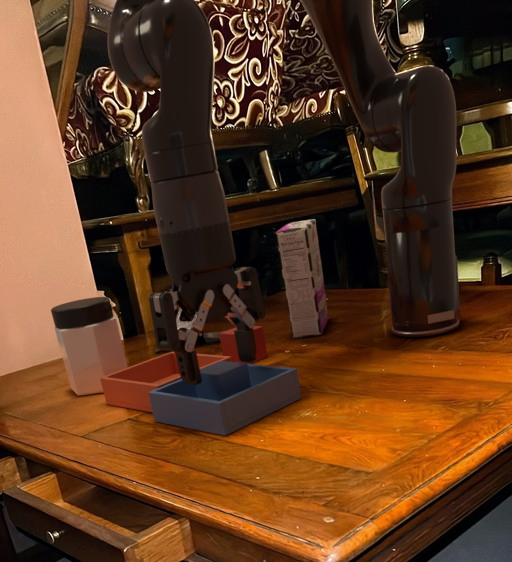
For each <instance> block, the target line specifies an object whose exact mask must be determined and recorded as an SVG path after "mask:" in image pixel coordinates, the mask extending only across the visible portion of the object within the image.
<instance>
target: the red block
mask: <svg viewBox="0 0 512 562" xmlns="http://www.w3.org/2000/svg"><path fill="white" fill-rule="evenodd" d="M235 330H237V328H236V327H235V326H234V327H233V328H230V329H228V330H223V331H224V332H222V331H221V332H222V333H219V336H220V341H221V342H220V346H221V352H222V356H229V357H231V358H232V362H238V363H247V364H254V363H256V362H258V361H260V360H263V359H265V358H268V351H267V344H266V339H265V332H264V326H263V325H255V327H254V328H253V330H254V336H255V342H256V348H257V353H256V360H255V361H253V362H241V361H240V360H239V356H238V351H237V345H236V340H235V334H234V331H235Z"/></svg>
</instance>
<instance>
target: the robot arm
mask: <svg viewBox="0 0 512 562" xmlns="http://www.w3.org/2000/svg"><path fill="white" fill-rule="evenodd" d="M299 1H300V3H301V5H302V7H303V8H304V10H305V12H306V14H307V15H308V18H309V19H310V22H311V23H312V25H313V28H314V29H315V31H316V33H317V35H318V37H319V39H320V41H321V42H322V44H323V46H324V48H325V51H326V52H327V54H328V56H329V58H330V59H331V62H332V63H333V65H334V68H335V70H336V72H337V74H338V77H339V79H340V82H341V84H342V86H343V88H344V90H345V93H346V95H347V98H348V100H349V102H350V105H351V107H352V109H353V112H354V114H355V116H356V119H357V121H358V123H359V126H360V127H361V130H362V132H363V133H364V135H365V137H366V139H367V140H368V141H369V143H370V144H371V145H372V146H373V147H375V149H377V150H379V151H381V152H383V153H391V154H392V153H400V156H401V157H400V166H399V169H398V172H397V173H396V174H395V176H394V177H393V178H392V179H391V180H390V181H389V182H387V183H386V184H385V185H383V187H382V188H381V191H380V203H381V214H382V225H383V237H384V247H385V257H386V270H387V280H388V291H389V293H388V294H389V304H390V315H391V333H392V334H393V336H397V337H401V338H426V337H432V336H438V335H443V334H447V333H449V332H452V331H454V330H457V329H458V328H459V327H460V322H461V306H460V305H461V304H460V290H459V289H460V288H459V287H460V284H459V270H458V267H459V266H458V256H457V255H456V247H455V232H454V231H455V229H454V214H453V183H454V180H455V177H456V171H457V104H456V97H455V92H454V88H453V85H452V83H451V81H450V78H449V76H448V75H447V73H446V72H444V70H443V69H441V68H440V67H438V66H435V65H422V66H417V67H415V68H411V69H408V70H404V71H401V72H398V73H397V72H396V71H395V69H394V68H393V66H392V65H391V62H390V61H389V59H388V57H387V56H386V52H385V51H384V49H383V47H382V44H381V42H380V39H379V37H378V34H377V30H376V25H375V20H374V0H299ZM114 3H115V4H114V6H113V9H112V12H111V15H110V18H109V21H108V22H109V23H108V28H107V42H106V43H107V53H108V59H109V62H110V65H111V68H112V70H113V73H114V74H115V75H116V77H117V79H118V80H119V81H120V82H121V83H122V84H123V85H124V86H125V87H127V88H128V89H130V90H132V91H134V92H137V93H150V92H153V91H157V90H159V91H160V92H159V106H158V109H157V110H156V113H154V115H152V116H151V117H150V118H148V119H147V120H146V122H144V123H143V126H142V128H141V141H142V147H143V153H144V155H145V162H146V167H147V171H148V175H149V182H150V183H151V184H150V187H151V194H152V195H151V196H152V206H153V212H154V217H155V223H156V226H157V232H158V236H159V242H160V245H161V250H162V255H163V260H164V265H165V269H166V272H167V274H168V275H169V277H170V278H171V281H172V286H171V291H166V292H165V291H164V292H151V293H150V294H149V296H148V302H149V310H150V315H151V319H152V325H153V332H154V337H155V344H156V347H158V349H160V350H169V352H174V353H175V355H176V358H177V363H178V368H179V371H180V377H181V378H182V380H183V381H185V383H186V384H188V385H198V384H200V383H201V382H202V378H201V373H200V368H199V364H198V359H197V354H198V353H197V350H194V349H195V347H194V346H195V343H196V340H197V336H198V334H199V333H201V331H202V330H203V331H204V327H205V324H209V323H211V322H213V321H215V320H216V319H217V318H225V319H227V321H228V322H230V324H231V325H233V327H234V328H235V327H236V328H237V330H235V331H234V334H235V340H236V345H237V351H238V356H239V360H240V361H241V362H253V361H255V360H256V353H257V348H256V342H255V336H254V330H253V328H254V327H255V326H256V323H257V322H258V321H259V320H263V319H264V318H265V317H266V310H265V305H264V300H263V296H262V290H261V285H260V279H259V276H258V271H257V268H256V267H254V266H241V267H237V268H235V269H234V267H233V265H234V264H235V263H236V261H237V256H236V250H235V245H234V244H235V243H234V238H233V233H232V227H231V221H230V217H229V210H228V205H227V203H228V202H227V199H226V194H225V190H224V186H223V184H222V180H221V177H220V171H219V166H218V161H217V156H216V150H215V145H214V139H213V138H214V137H213V133H212V117H213V105H214V84H215V83H214V82H215V65H216V64H215V63H216V61H215V59H216V58H215V57H216V55H215V53H216V52H215V51H216V50H215V42H214V41H215V40H214V37H213V32H212V28H211V25H210V23H209V20H208V18H207V15H206V14H205V12H204V11H203V9H202V8H201V6H200V5H199V4H198V2H197V1H196V0H116V1H115V2H114ZM236 291H237V292H238V295H237V294H236ZM178 307H179V308H178ZM177 309H178V311H177V313H176V310H177ZM188 318H190V319H191V320H192V321H190V322H188Z"/></svg>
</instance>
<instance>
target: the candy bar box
mask: <svg viewBox="0 0 512 562" xmlns="http://www.w3.org/2000/svg"><path fill="white" fill-rule="evenodd" d="M275 235H276V236H275V237H276V242H277V248H278V253H279V260H280V267H281V273H282V280H283V285H284V290H285V297H286V304H287V305H286V306H287V310H288V317H289V323H290V324H289V325H290V331H291V337H292V338H293V339H303V338H310V337H311V338H312V337H317V336H322V335H323V333H324V330H325V328H326V326H327V324H328V321H329V319H330V316H329V308H328V301H327V296H326V287H325V280H324V272H323V266H322V265H323V264H322V258H321V251H320V245H319V235H318V229H317V221H316V219H315V218H313V219H305V220H299V221H293V222H289V223H287V224H285V225H284V226H282V227H281V228H280V229H278V230H277V231H276V232H275Z"/></svg>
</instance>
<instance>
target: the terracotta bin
mask: <svg viewBox="0 0 512 562" xmlns="http://www.w3.org/2000/svg"><path fill="white" fill-rule="evenodd" d="M196 354H197V359H198V364H199V368H200V369H202V368H204V367H207V366H209V365H212V364H214V363H217V362H219V361H227V362H232V358H231V357H229V356H223V355H216V354H206V353H196ZM127 367H128V368H126V369H123V370H120V371H118V372H115V373H112V374H109V375H107V376H104V377H101V378H100V380H101V384H102V388H103V395H104V400H105V403H106V405H110V406H114V407H115V406H116V407H119V408H125V409H126V408H127V409H130V410H137V411H142V412H148V413H151V414H153V412H152V407H151V403H150V398H149V394H148V392H150V391H153V390H155V389H158V388H160V387H163V386H165V385H168V384H170V383H173V382H175V381H178V380H180V379H182V378H181V377H180V371H179V368H178V363H177V358H176V355H175V353H174V352H173V351H169V352H166V353H164V354H162V355H159V356H156V357H153V358H151V359H147V360H145V361H142V362H140V363H137V364H134V365H131V366H127Z"/></svg>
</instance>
